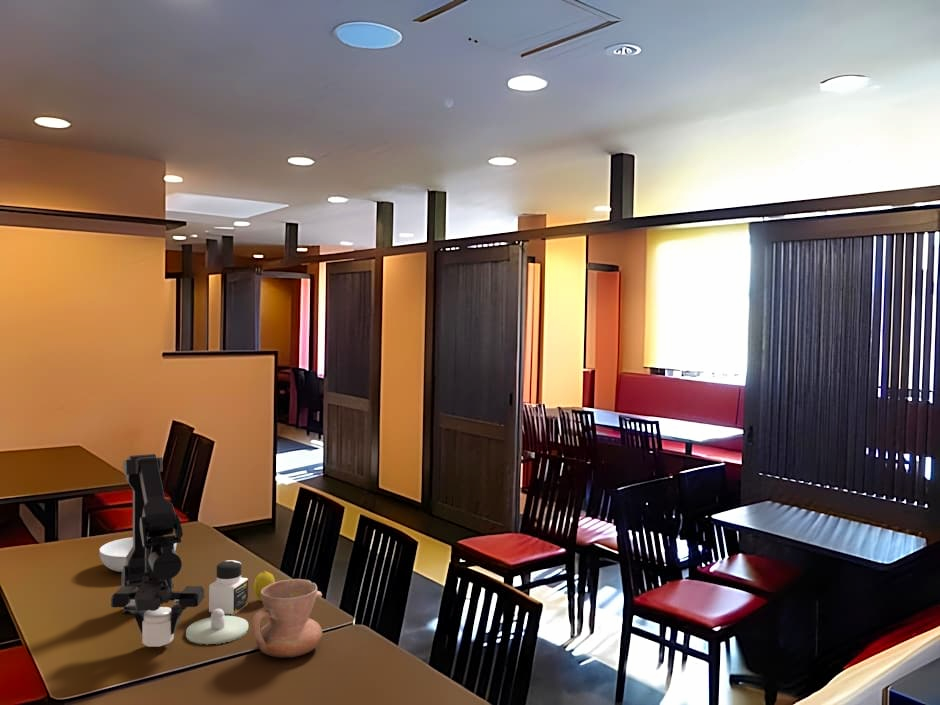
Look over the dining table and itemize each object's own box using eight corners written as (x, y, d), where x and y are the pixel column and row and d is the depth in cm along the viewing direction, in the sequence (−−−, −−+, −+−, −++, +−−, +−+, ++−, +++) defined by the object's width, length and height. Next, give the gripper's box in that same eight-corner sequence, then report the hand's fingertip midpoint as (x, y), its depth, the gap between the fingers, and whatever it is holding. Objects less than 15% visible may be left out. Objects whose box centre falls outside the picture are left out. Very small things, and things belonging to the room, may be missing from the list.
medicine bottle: (234, 615, 181) (234, 568, 180) (208, 612, 182) (208, 565, 182) (248, 604, 188) (248, 559, 187) (223, 602, 189) (223, 557, 189)
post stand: (177, 645, 164) (177, 621, 163) (196, 619, 178) (196, 597, 177) (240, 644, 165) (240, 620, 165) (254, 619, 179) (254, 597, 178)
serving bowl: (191, 565, 217) (191, 543, 216) (125, 586, 199) (126, 561, 199) (149, 552, 228) (149, 530, 227) (84, 570, 210) (84, 547, 210)
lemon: (279, 598, 192) (279, 569, 192) (267, 606, 187) (267, 575, 187) (261, 595, 194) (262, 566, 194) (249, 603, 189) (249, 573, 189)
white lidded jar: (139, 646, 159) (139, 617, 159) (149, 634, 165) (149, 606, 165) (167, 646, 159) (167, 617, 159) (176, 634, 166) (176, 606, 165)
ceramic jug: (302, 628, 174) (301, 570, 174) (339, 646, 165) (339, 585, 164) (234, 654, 161) (233, 591, 160) (271, 675, 151) (270, 609, 151)
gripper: (100, 578, 153) (99, 650, 153) (190, 578, 154) (189, 649, 155) (121, 561, 164) (121, 628, 165) (205, 561, 165) (204, 627, 166)
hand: (158, 633), depth 162 cm, fingers closed on white lidded jar, 6 cm apart
